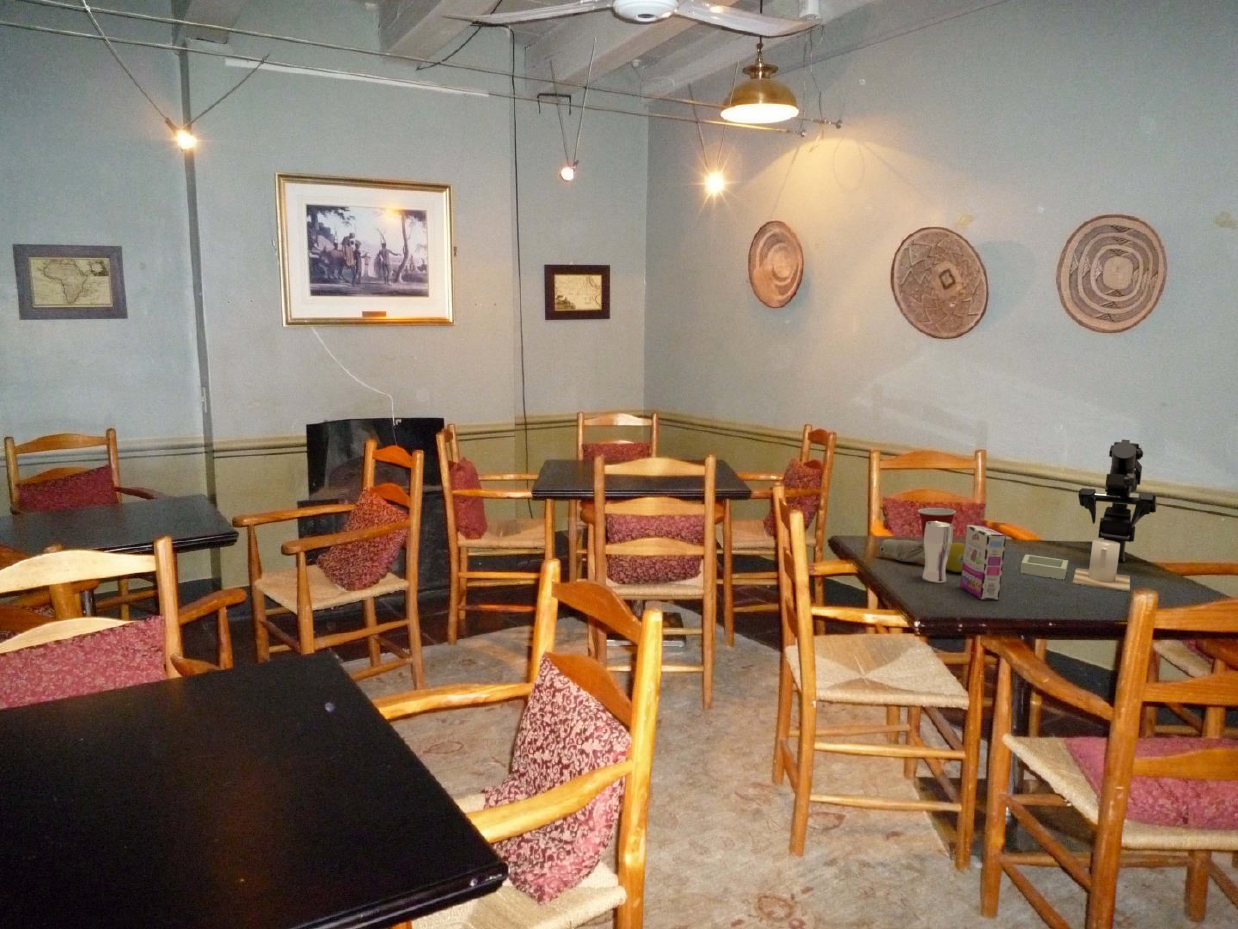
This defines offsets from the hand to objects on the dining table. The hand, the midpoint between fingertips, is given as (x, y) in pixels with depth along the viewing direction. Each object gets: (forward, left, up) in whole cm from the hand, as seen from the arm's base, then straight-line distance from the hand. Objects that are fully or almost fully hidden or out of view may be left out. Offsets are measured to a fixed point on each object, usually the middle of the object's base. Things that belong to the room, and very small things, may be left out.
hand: (1112, 524), depth 238 cm
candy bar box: (+44, -27, -14) cm, 53 cm away
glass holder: (+11, -15, -14) cm, 23 cm away
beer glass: (+38, -39, -14) cm, 56 cm away
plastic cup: (+2, -46, -14) cm, 48 cm away
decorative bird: (+24, -49, -14) cm, 56 cm away
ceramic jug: (+11, -1, -13) cm, 17 cm away
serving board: (+11, -1, -14) cm, 17 cm away
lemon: (+26, -35, -14) cm, 45 cm away
